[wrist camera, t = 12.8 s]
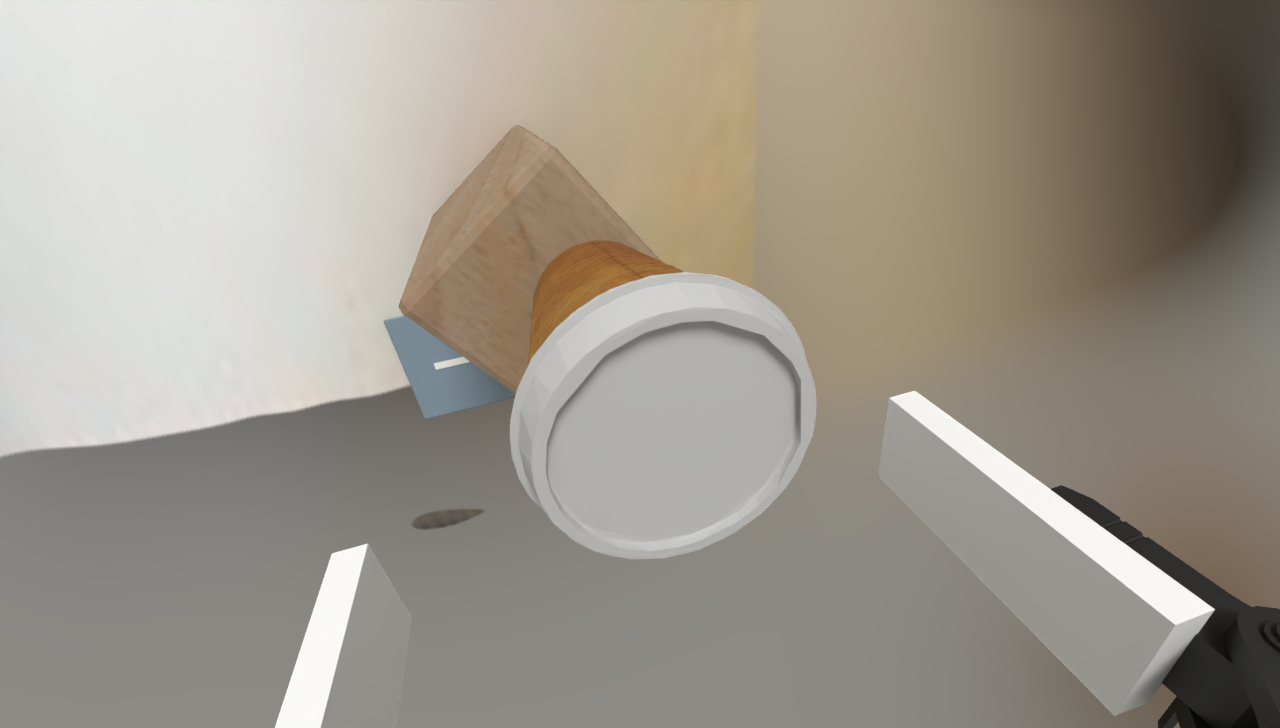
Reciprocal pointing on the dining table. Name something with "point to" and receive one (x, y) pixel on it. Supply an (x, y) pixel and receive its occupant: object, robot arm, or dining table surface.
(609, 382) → the disposable coffee cup
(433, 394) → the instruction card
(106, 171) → the dining table surface
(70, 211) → the dining table surface
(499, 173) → the wooden block
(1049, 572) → the robot arm
